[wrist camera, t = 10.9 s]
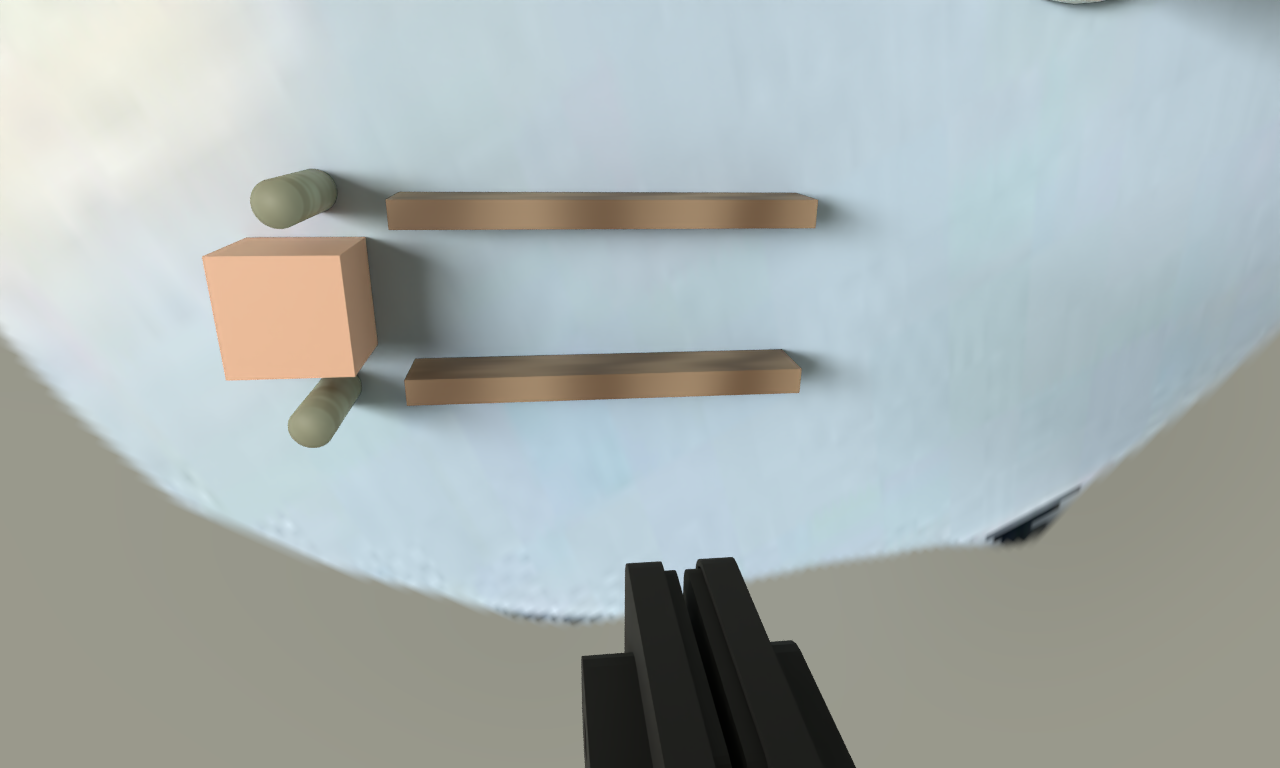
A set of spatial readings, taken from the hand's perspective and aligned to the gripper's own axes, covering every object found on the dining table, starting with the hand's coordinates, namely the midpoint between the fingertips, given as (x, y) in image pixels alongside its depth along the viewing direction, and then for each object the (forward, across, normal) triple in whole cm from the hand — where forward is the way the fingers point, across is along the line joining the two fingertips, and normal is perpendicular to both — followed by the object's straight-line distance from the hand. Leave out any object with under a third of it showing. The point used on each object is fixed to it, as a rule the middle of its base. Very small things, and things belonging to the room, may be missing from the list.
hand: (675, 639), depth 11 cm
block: (+25, +13, 0) cm, 28 cm away
